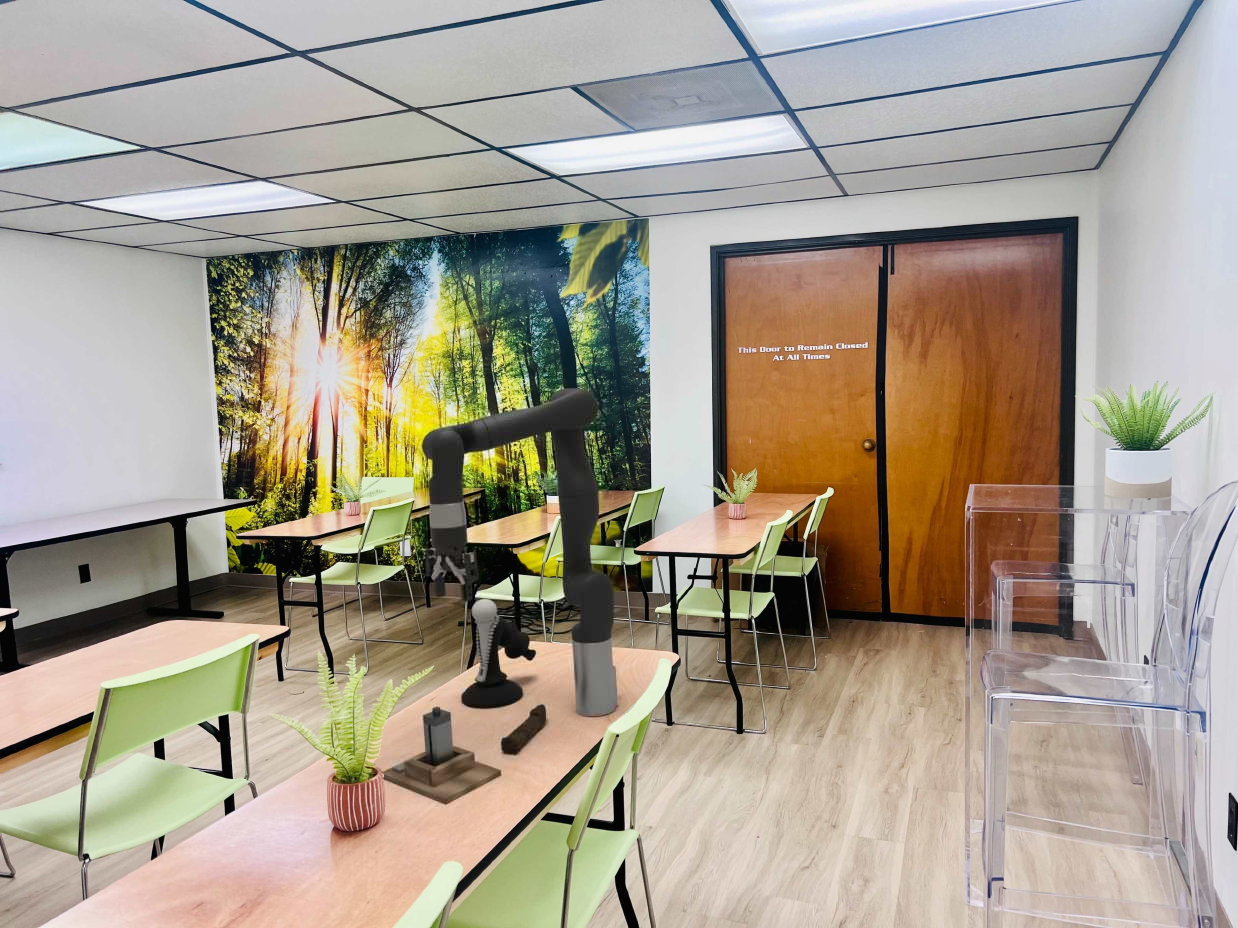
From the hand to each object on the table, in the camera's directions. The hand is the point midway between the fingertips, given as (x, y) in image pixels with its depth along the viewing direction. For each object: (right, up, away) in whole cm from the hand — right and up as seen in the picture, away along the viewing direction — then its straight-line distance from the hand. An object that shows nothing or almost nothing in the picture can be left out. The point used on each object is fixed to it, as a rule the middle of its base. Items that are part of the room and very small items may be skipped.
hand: (453, 598), depth 181 cm
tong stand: (0, -33, -12) cm, 36 cm away
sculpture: (+6, -29, +34) cm, 45 cm away
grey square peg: (0, -32, -12) cm, 34 cm away
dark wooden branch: (+15, -32, +5) cm, 35 cm away
